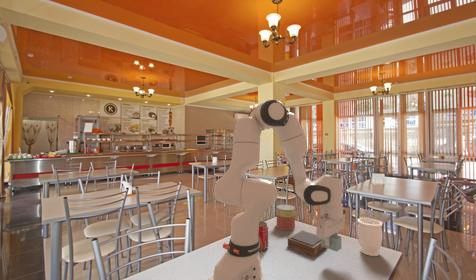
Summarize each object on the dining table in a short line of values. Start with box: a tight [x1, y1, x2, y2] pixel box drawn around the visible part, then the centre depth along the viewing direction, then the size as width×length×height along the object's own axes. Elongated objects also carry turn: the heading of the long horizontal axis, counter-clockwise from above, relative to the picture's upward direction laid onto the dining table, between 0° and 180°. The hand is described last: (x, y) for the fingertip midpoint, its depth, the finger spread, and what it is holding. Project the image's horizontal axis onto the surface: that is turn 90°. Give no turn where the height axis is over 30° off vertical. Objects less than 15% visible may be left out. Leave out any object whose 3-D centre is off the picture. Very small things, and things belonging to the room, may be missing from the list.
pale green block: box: [321, 234, 342, 252], centre depth 99 cm, size 4×7×5 cm, turn 42°
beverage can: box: [258, 220, 269, 251], centre depth 113 cm, size 8×8×12 cm
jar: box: [356, 217, 383, 257], centre depth 109 cm, size 11×10×15 cm
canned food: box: [276, 204, 296, 231], centre depth 140 cm, size 11×11×12 cm
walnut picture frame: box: [287, 229, 326, 257], centre depth 114 cm, size 14×14×4 cm
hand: (331, 243), depth 99 cm, fingers closed on pale green block, 4 cm apart
